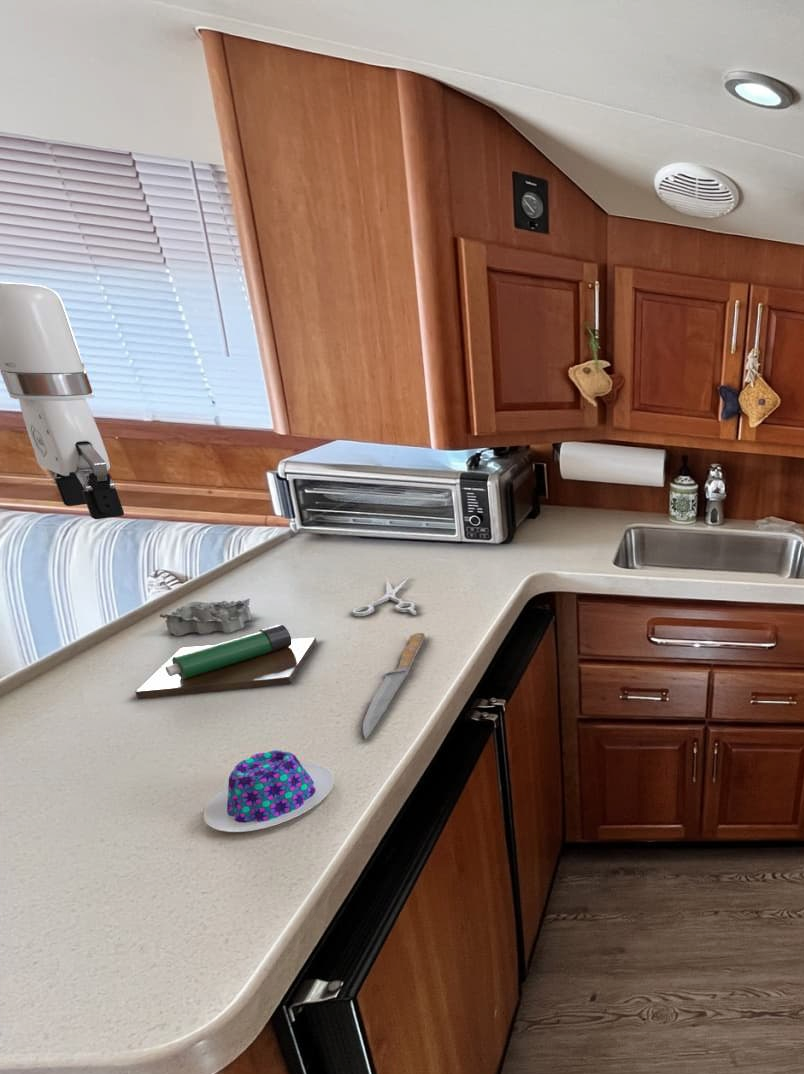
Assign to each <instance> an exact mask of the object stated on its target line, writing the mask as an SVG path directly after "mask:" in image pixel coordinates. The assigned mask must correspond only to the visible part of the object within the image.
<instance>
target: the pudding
mask: <svg viewBox="0 0 804 1074" xmlns="http://www.w3.org/2000/svg"><path fill="white" fill-rule="evenodd" d="M334 785H335V775H334V773H333V771H332V770H330V769H329V768H327V767H326V766H324V765H321V764H317V763H310V762H300V760H299V759H298V758H297V756H296V755H295V754H294V753H292V752H290V751H282V750H277V749H274V750H270V751H267V752H259V753H256V754H253V755H251V756H250V757H249V758H247V759H244V760H241V761H240V762H238V763H237V764H236V765H235V766H234V768H233V770H231V772H230V774H229V777H228V785H227V786H226V787H225V788H223V789H221V791H219V792H217V794H216V795H214V797H212V798H211V799H210V800H209V802H208V803H207V805H206V807H205V808H204V811H203V820H204V822H205V824H206V825H207V826H209V828H211V829H213V830H216V831H220V832H227V833H243V832H252V831H253V832H254V831H257V830H262V829H267V828H270V827H273V826H276V825H279V824H282V823H285V822H287V821H288V822H289V820H292V819H295V818H296V817H299V816H301V815H303V814H304V813H306V812H308V811H309V810H311V809H313V808H314V807H315V806H317V805H318V804H319V803H320V802H322V801H323V800H324V799H325V798H326V797H327V796H328V795H329V794H330V792H331V790H332V789H333V787H334Z"/></svg>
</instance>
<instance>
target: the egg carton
mask: <svg viewBox="0 0 804 1074" xmlns="http://www.w3.org/2000/svg"><path fill="white" fill-rule="evenodd" d="M250 601H251V599H250V598H247V599H244V600H238V601H233V600H231V601H227V600H223V601H212V602H203V601H191V602H188V603H186V604H184V605H182V606H181V607H177V608H176V611H171V613H170V614H167V613H161V614H159V617H160V618H162V619H165V624H166V627H167V631H168V633H169V634H172V635H173V634H174V636H177V637H178V636H183V635H186V634H189V633H198V634H200V635H205V634H206V635H207V634H210V633H212V632H217V631H218V632H219V631H221V632H223V633H224V634H227V633H228V634H229V633H232V632H235V631H239V630H241V629H243V628H244V627H245V622H247V621H251V620H252V619H253V616H252V613H251V610H250V609H251V608H250Z"/></svg>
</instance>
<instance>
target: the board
mask: <svg viewBox="0 0 804 1074" xmlns="http://www.w3.org/2000/svg"><path fill="white" fill-rule="evenodd" d="M291 640H292V644H291V646H289V647H286V648H282V649H279V650H276V651H273V652H269V653H266V654H263V655H260V656H257V657H253V658H250V659H247V660H244V661H241V662H238V663H234V664H231V665H228V666H225V667H222V668H219V669H216V670H212V671H209V672H206V673H203V674H200V675H197V676H193V677H190V678H187V679H182V678H181V677H180V676H179V675H178V674H177V675H174V676H169V675H168V674H167V672H166V670H165V667H166V666H169V665H172V664H173V663H172V658H173V657H175V656H178V655H182V654H185V653H188V652H192V651H195V650H199V649H202V648H206V647H209V646H210V645H202V646H201V645H200V646H188V647H181V648H179V649H178V651H176V652H175V653H174V655H172V656H171V657H170V658H169V659H168V660H167V661H166V662H164V664H163V665H162V666H161V667H160V668H159V669H157V671H155V672H154V673H153V674H152V675H151V676H150V677H149V678H148V679H147V680H145V682H144V683H143V684H142V685H140V687H138V688H137V690H135V696H136V697H137V699H138V700H140V699H150V698H151V699H152V698H161V697H162V698H163V697H170V696H182V695H190V694H191V695H192V694H203V693H210V692H212V693H213V692H221V691H231V690H243V689H252V688H262V687H263V688H265V687H273V686H282V685H291V684H292V683H293V682H294V680H295V679H296V677H297V675H298V674H299V673H300V671H301V669H302V667H303V666H304V664H305V663H306V662H307V660H308V658H309V657H310V655H311V654H312V652H313V650H314V649H315V648H316V646H317V644H318V642H317V638H316V637H308V638H307V637H306V638H305V637H304V638H291ZM213 645H214V644H212V645H211V646H213Z"/></svg>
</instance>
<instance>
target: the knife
mask: <svg viewBox="0 0 804 1074" xmlns="http://www.w3.org/2000/svg"><path fill="white" fill-rule="evenodd" d="M425 639H426V636H425V633H424V632H420V633H419V632H418V633H413V634H411V635H410V636H409V642H408V644H407V645H406V646H405V648H404V649H403V651H402V652H401V657H400V662H399V664H398V668H396V669H393V670H391V671H388V672H386V673H385V674H384V676H385V677H384V679H383V681H382V682H381V684H380V686H379V688H378V689H377V691H376V693H375V695H374V696H373V698H372V699H371V702H370V703H369V707H368V708H367V710H366V711H367V712H366V713H365V716H364V719H363V722H362V734H363V737H364V740H366V739H367V738H368V737H369V736H370V735H371V734H372V732H373V731H374V729H375V727H376V726H377V724H378V722H379V721H380V719H381V718H382V716H383V714H384V713H385V712H386V710H387V708H388V707H389V705H390V703H391V701H392V700H393V698H394V696H395V695H396V692H397V691H398V690H399V688H400V687H401V685H402V684H403V682H404V681H405V679H406V677H408V675H409V673H410V670H411V667H412V666H413V663H414V661H415V659H416V657H417V655H418V653H419V651H420V649H421V647H422V646H423V643H424V642H425Z"/></svg>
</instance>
